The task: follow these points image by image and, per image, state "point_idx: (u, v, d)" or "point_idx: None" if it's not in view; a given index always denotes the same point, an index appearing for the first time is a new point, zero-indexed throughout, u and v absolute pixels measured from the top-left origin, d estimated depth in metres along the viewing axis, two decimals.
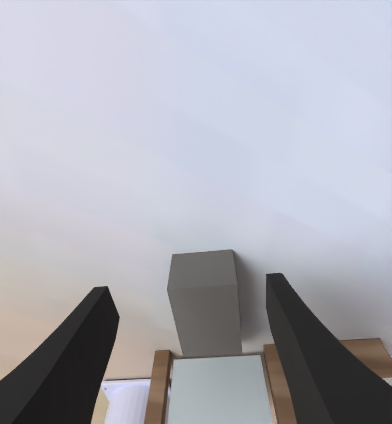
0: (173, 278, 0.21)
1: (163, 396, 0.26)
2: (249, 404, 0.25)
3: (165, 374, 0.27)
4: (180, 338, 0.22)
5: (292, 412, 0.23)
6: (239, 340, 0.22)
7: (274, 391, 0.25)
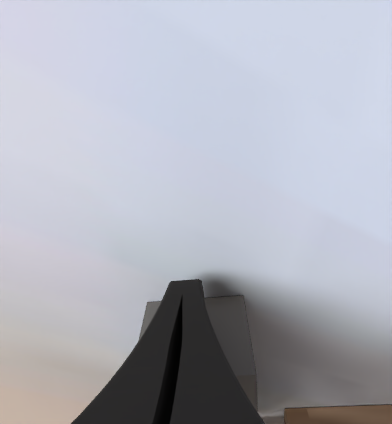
0: None
1: None
2: None
3: None
4: None
5: None
6: None
7: None
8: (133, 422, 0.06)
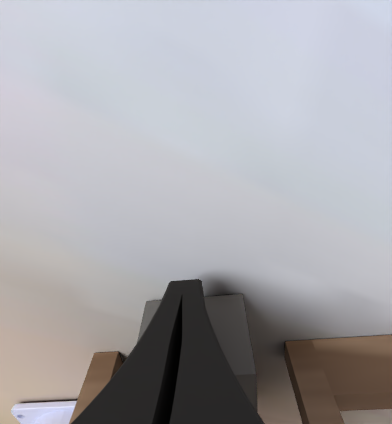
0: None
1: None
2: None
3: None
4: None
5: None
6: None
7: None
8: (133, 422, 0.06)
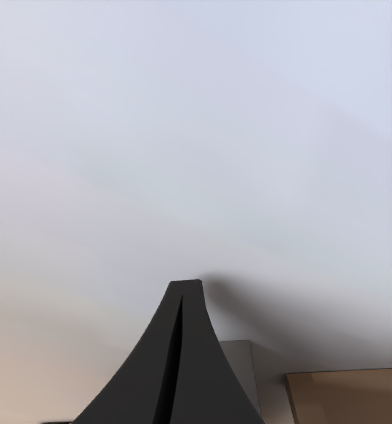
0: None
1: None
2: None
3: None
4: None
5: None
6: None
7: None
8: (133, 422, 0.06)
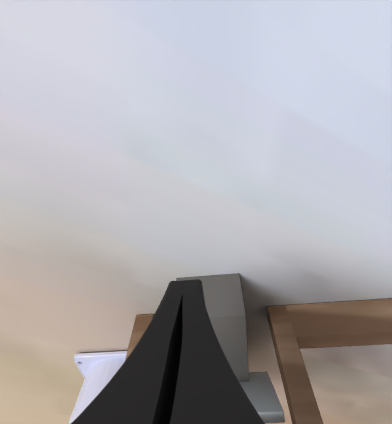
0: None
1: None
2: (251, 395, 0.20)
3: None
4: None
5: (305, 381, 0.18)
6: (246, 368, 0.21)
7: (281, 357, 0.20)
8: (133, 422, 0.06)
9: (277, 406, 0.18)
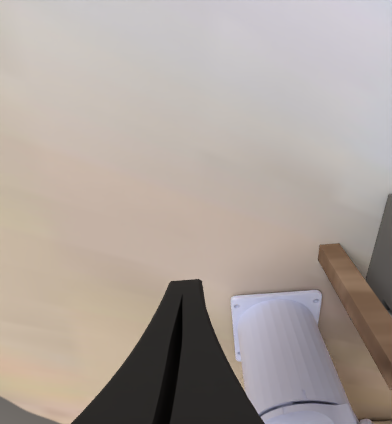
0: None
1: (367, 285, 0.18)
2: None
3: (353, 264, 0.20)
4: None
5: None
6: None
7: None
8: (133, 422, 0.06)
9: None
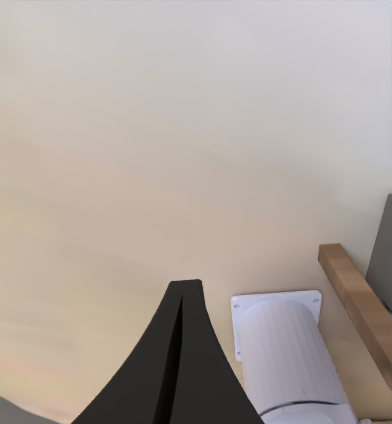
0: None
1: (367, 285, 0.18)
2: None
3: (353, 264, 0.20)
4: None
5: None
6: None
7: None
8: (133, 422, 0.06)
9: None
